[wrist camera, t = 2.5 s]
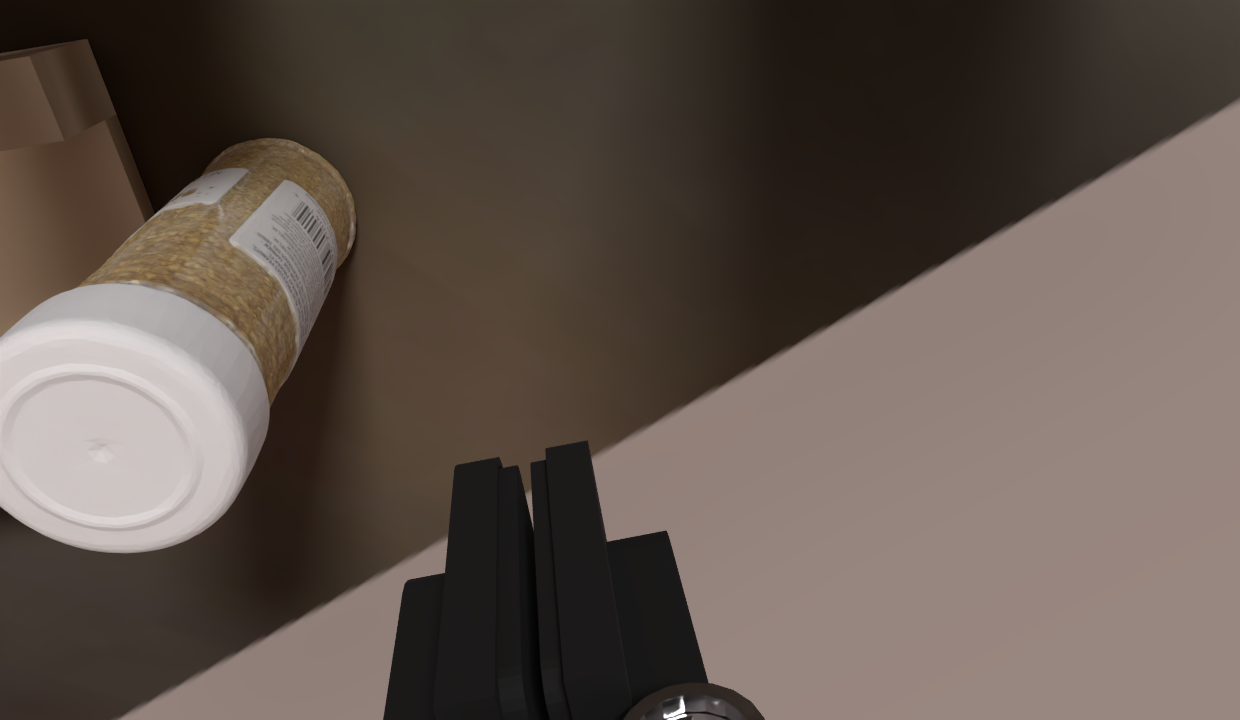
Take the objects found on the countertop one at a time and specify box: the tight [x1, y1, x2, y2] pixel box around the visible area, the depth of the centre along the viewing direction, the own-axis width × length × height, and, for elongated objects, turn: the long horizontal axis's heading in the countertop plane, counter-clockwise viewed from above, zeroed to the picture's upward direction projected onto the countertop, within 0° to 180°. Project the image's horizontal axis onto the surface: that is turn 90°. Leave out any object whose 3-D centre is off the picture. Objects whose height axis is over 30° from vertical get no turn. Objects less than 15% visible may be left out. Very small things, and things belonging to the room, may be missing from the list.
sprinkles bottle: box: [0, 138, 356, 553], centre depth 21 cm, size 5×5×13 cm
